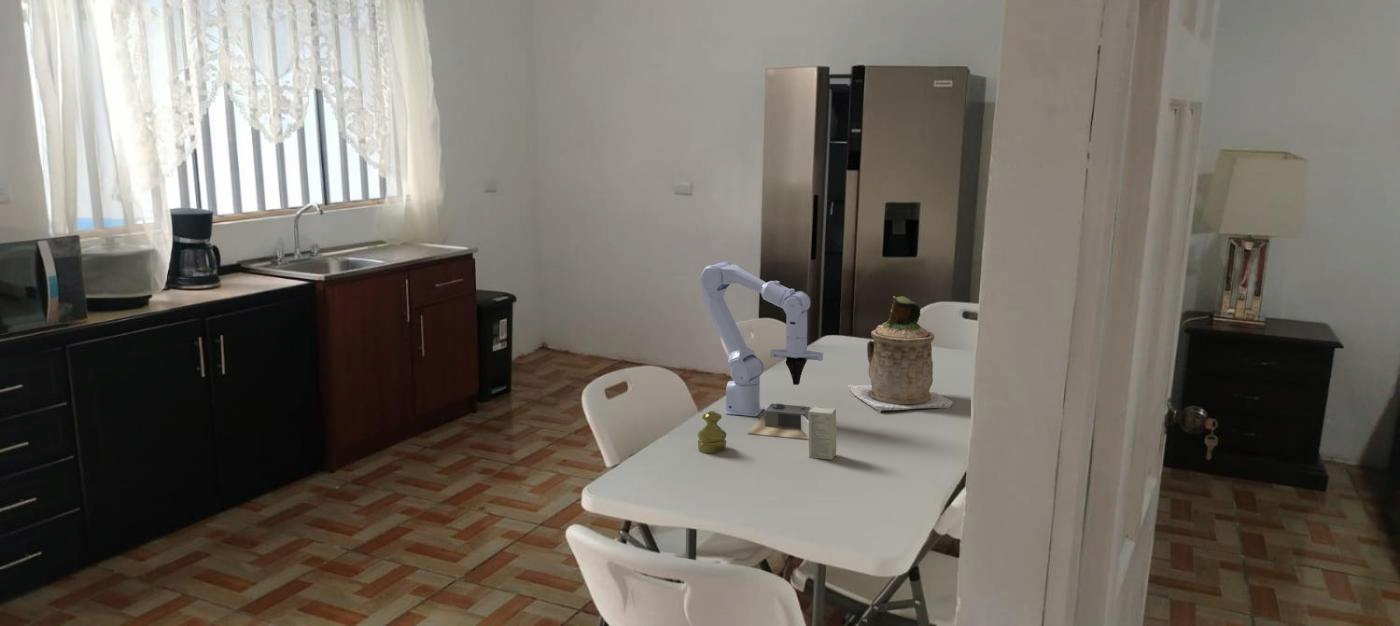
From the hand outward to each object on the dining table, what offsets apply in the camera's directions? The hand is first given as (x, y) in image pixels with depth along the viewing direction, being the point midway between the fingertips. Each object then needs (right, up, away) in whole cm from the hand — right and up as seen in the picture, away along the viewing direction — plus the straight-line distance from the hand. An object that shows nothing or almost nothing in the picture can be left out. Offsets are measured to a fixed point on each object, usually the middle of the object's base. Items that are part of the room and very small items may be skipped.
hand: (796, 383), depth 270 cm
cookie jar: (+33, -6, +20) cm, 39 cm away
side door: (+2, -12, -11) cm, 17 cm away
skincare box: (+4, -16, -27) cm, 32 cm away
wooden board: (-3, -12, -5) cm, 13 cm away
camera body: (-3, -11, -3) cm, 12 cm away
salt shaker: (-24, -15, -21) cm, 35 cm away
